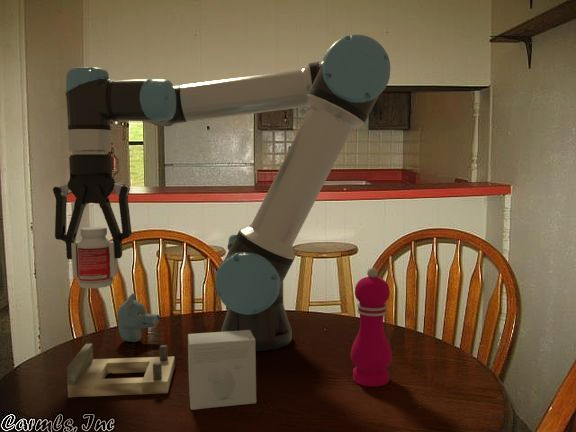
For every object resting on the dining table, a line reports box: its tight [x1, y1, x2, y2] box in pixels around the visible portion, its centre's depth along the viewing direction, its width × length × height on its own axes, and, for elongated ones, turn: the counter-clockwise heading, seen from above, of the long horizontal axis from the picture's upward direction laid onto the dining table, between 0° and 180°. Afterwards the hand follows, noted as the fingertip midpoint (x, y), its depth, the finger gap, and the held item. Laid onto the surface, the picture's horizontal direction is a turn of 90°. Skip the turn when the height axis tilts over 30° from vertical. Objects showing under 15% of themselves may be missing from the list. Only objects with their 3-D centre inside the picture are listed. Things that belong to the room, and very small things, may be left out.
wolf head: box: [116, 292, 161, 343], centre depth 119 cm, size 6×9×10 cm
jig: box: [66, 343, 176, 398], centre depth 97 cm, size 16×12×5 cm
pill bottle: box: [77, 226, 114, 289], centre depth 105 cm, size 6×6×11 cm
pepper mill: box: [350, 267, 393, 388], centre depth 97 cm, size 7×7×20 cm
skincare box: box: [187, 330, 258, 411], centre depth 90 cm, size 10×6×10 cm, turn 102°
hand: (95, 275), depth 106 cm, fingers closed on pill bottle, 6 cm apart
